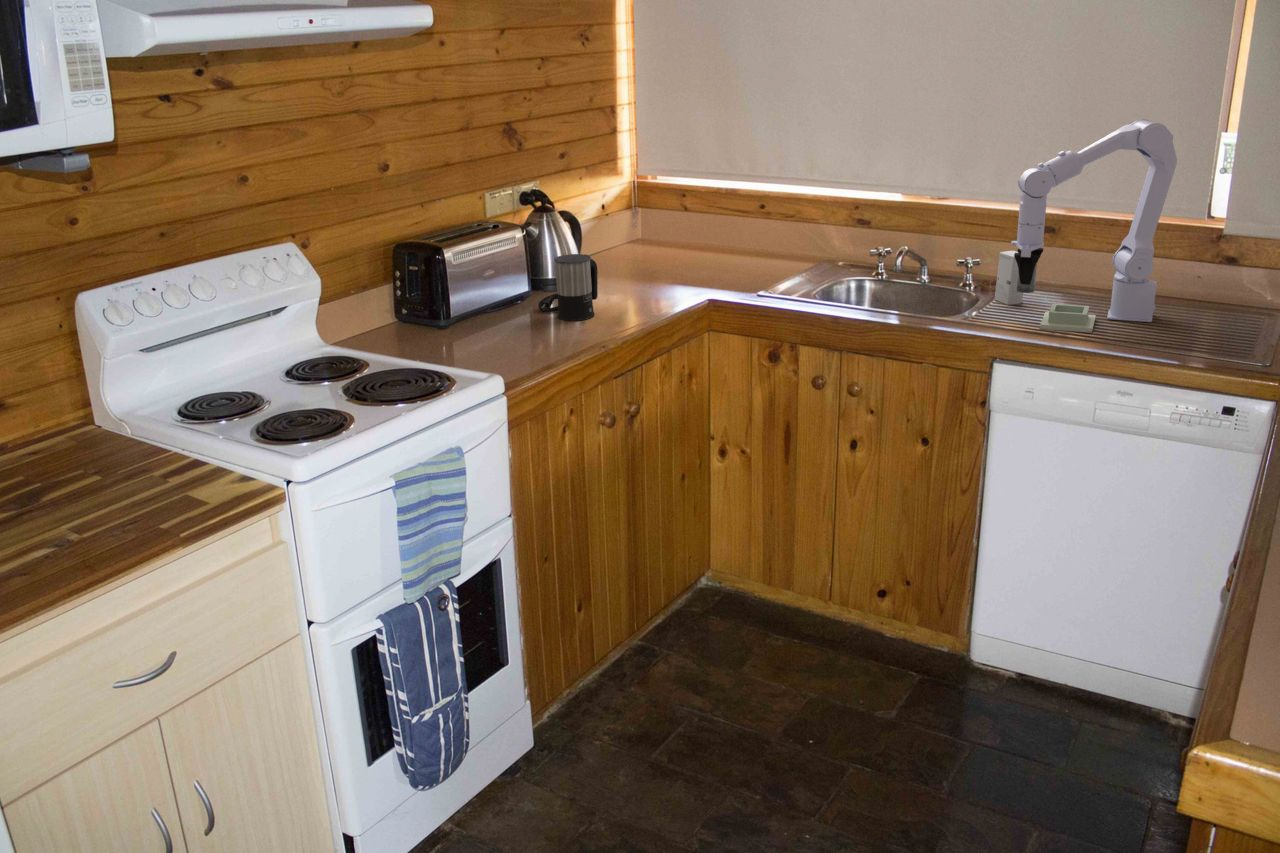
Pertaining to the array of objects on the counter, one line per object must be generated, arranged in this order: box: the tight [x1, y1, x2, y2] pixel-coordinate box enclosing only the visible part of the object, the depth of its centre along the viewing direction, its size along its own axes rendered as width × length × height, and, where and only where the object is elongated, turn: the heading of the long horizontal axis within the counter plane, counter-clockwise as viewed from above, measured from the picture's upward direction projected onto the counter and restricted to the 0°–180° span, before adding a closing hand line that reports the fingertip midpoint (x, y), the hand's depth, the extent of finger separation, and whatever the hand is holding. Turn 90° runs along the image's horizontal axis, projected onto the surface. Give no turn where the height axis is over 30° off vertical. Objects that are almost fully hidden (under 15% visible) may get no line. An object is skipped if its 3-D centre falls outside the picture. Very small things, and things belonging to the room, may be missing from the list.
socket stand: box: [1039, 303, 1097, 334], centre depth 257 cm, size 11×12×4 cm
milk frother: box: [537, 253, 599, 322], centre depth 280 cm, size 14×16×15 cm
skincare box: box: [994, 250, 1024, 306], centre depth 276 cm, size 6×4×12 cm
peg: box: [1016, 262, 1038, 294], centre depth 260 cm, size 4×4×7 cm
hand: (1026, 281), depth 261 cm, fingers closed on peg, 4 cm apart
